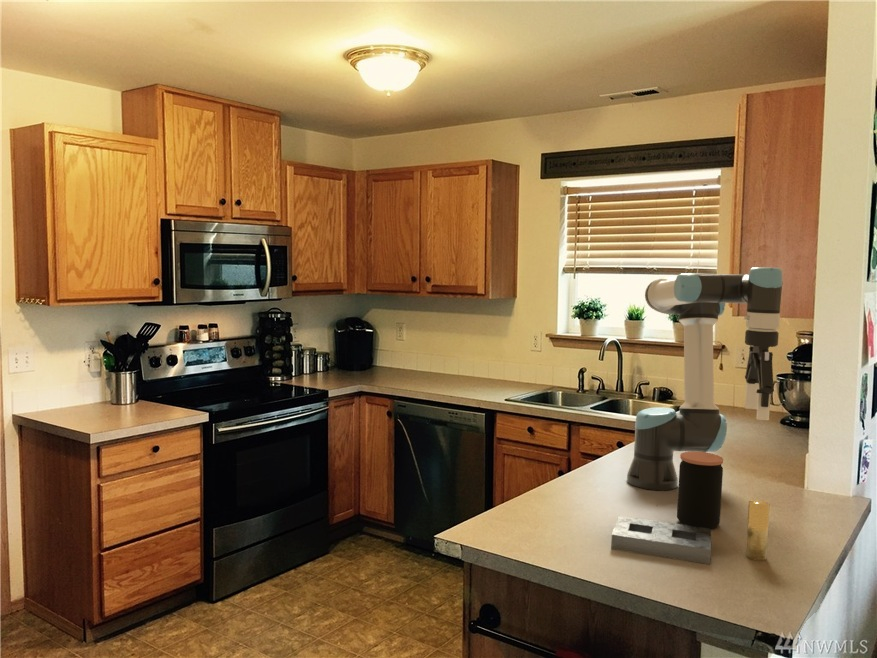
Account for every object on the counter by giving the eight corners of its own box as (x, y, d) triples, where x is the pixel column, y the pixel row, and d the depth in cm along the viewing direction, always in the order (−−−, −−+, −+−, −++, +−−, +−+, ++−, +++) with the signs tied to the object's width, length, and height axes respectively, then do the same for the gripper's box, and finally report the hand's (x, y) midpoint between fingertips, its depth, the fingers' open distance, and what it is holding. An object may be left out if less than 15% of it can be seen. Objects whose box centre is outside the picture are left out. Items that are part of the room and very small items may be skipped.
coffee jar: (709, 516, 194) (713, 451, 193) (726, 531, 184) (730, 462, 182) (670, 516, 194) (674, 451, 192) (685, 530, 183) (689, 461, 182)
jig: (618, 529, 183) (618, 515, 183) (710, 542, 176) (710, 528, 175) (611, 548, 170) (611, 534, 170) (710, 564, 163) (710, 549, 162)
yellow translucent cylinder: (745, 552, 170) (748, 498, 169) (765, 555, 169) (768, 501, 168) (745, 558, 166) (749, 504, 165) (766, 562, 165) (770, 506, 164)
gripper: (736, 324, 191) (731, 403, 193) (756, 333, 166) (750, 423, 169) (766, 326, 189) (761, 405, 191) (791, 335, 165) (785, 426, 167)
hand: (756, 414), depth 180 cm, fingers open, 13 cm apart
